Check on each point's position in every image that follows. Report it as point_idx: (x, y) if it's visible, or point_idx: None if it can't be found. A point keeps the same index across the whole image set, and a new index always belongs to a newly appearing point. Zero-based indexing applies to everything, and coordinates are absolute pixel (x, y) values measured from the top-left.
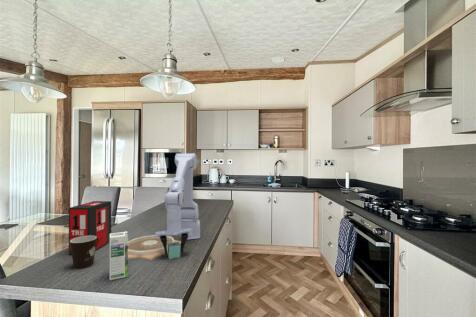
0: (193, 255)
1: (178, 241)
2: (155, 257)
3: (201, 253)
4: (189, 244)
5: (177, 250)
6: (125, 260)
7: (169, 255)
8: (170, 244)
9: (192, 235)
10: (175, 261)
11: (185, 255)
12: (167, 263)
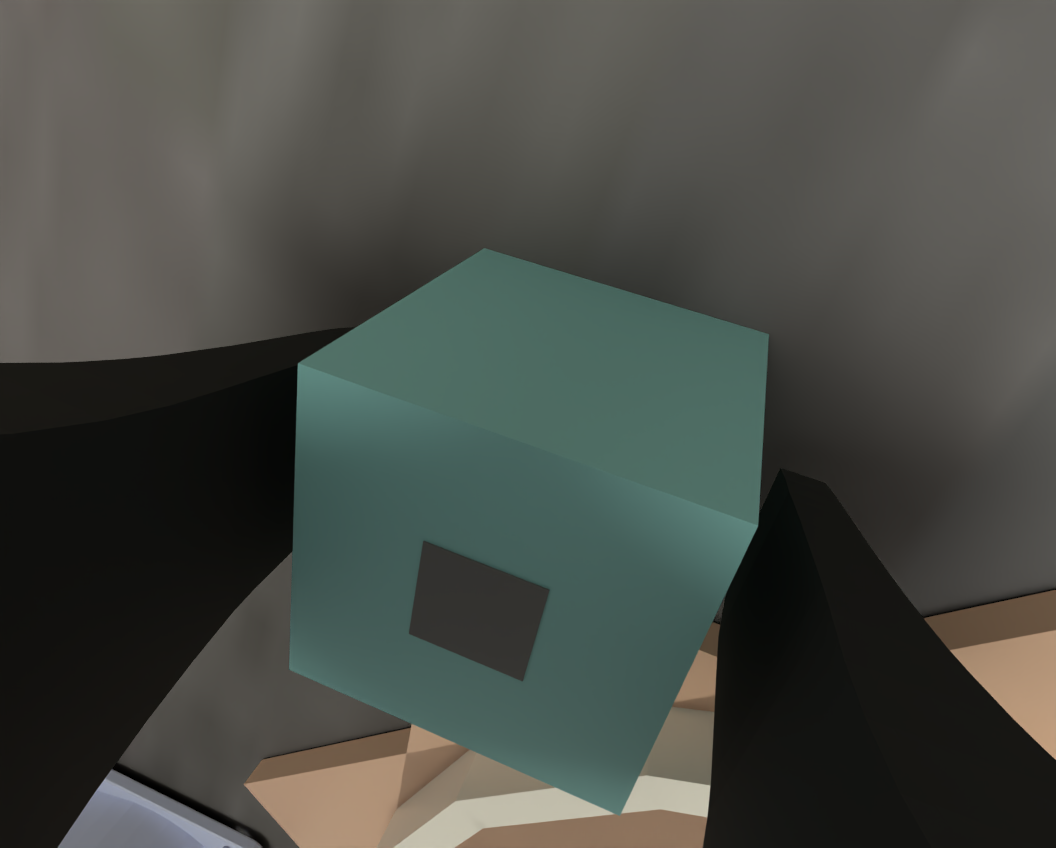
0: (189, 147)
1: (316, 841)
2: (1045, 607)
3: (25, 145)
4: (190, 667)
5: (478, 334)
6: None
7: (750, 368)
8: (590, 681)
9: (83, 829)
10: (701, 33)
11: (348, 271)
12: (993, 25)
